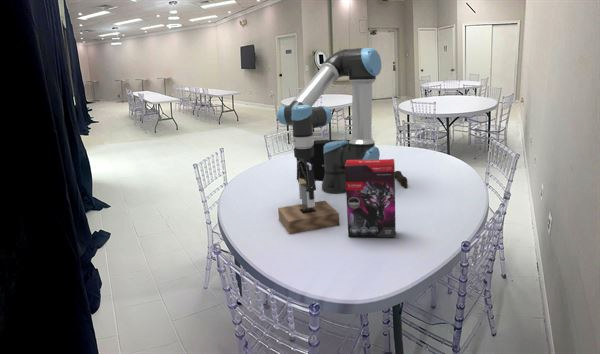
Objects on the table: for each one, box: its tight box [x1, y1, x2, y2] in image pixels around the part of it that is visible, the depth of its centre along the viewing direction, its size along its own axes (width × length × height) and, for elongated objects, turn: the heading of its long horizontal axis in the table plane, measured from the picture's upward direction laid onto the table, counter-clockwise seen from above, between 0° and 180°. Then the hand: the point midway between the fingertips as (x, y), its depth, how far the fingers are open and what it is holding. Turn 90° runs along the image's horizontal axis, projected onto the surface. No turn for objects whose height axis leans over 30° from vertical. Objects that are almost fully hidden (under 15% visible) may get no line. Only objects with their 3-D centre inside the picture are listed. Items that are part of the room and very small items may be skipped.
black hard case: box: [310, 139, 351, 182], centre depth 228 cm, size 30×12×20 cm, turn 72°
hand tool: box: [395, 170, 408, 189], centre depth 216 cm, size 19×4×5 cm, turn 177°
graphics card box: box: [345, 158, 397, 238], centre depth 156 cm, size 17×7×27 cm, turn 79°
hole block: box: [277, 200, 340, 235], centre depth 174 cm, size 20×16×5 cm
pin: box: [298, 177, 313, 214], centre depth 172 cm, size 5×5×18 cm
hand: (307, 202), depth 172 cm, fingers open, 10 cm apart
